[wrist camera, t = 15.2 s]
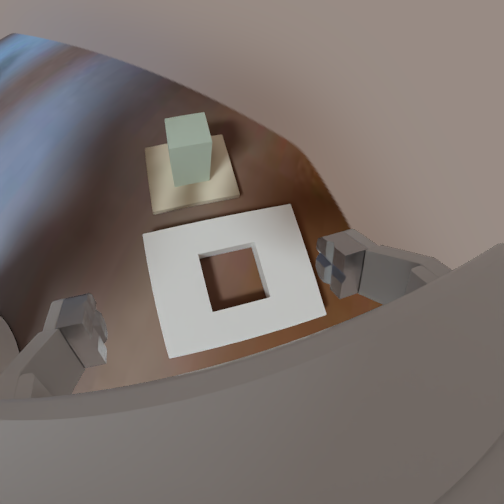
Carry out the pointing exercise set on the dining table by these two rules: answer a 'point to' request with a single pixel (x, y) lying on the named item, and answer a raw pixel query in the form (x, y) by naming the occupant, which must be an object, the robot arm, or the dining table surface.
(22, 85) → the dining table surface
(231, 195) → the pad
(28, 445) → the robot arm
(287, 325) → the holder
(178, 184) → the block
